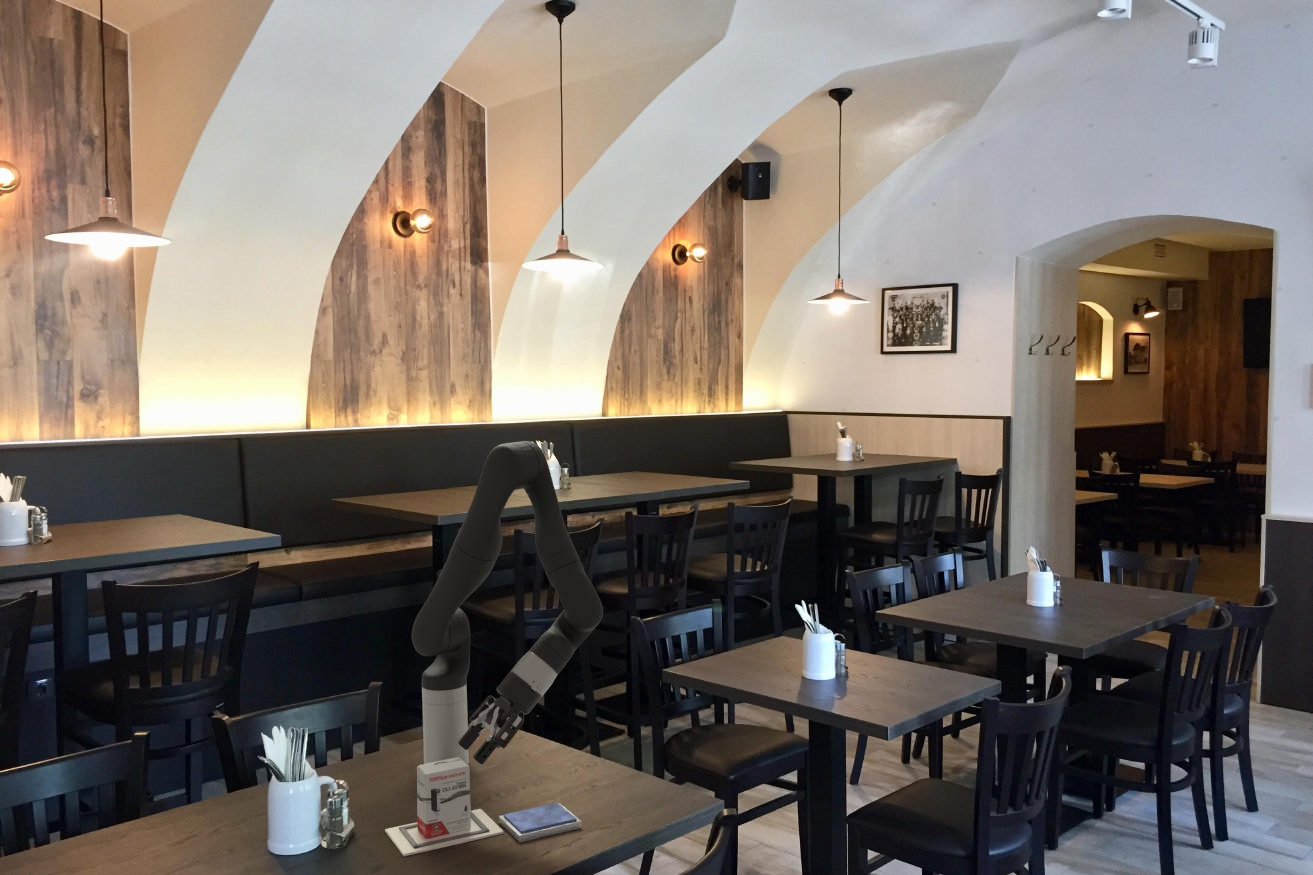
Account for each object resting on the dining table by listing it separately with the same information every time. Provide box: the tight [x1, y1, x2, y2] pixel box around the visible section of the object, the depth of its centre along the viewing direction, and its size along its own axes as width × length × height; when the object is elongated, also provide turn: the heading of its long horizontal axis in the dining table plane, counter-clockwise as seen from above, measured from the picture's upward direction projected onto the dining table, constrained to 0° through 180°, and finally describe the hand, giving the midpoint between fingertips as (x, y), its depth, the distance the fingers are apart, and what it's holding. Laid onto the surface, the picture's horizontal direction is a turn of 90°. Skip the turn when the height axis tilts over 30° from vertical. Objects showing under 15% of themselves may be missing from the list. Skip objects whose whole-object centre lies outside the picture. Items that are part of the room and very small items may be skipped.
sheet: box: [384, 808, 505, 857], centre depth 190 cm, size 12×18×1 cm, turn 119°
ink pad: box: [498, 802, 583, 843], centre depth 193 cm, size 10×12×2 cm
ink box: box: [416, 757, 472, 839], centre depth 190 cm, size 8×5×12 cm, turn 121°
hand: (469, 754), depth 192 cm, fingers open, 8 cm apart
